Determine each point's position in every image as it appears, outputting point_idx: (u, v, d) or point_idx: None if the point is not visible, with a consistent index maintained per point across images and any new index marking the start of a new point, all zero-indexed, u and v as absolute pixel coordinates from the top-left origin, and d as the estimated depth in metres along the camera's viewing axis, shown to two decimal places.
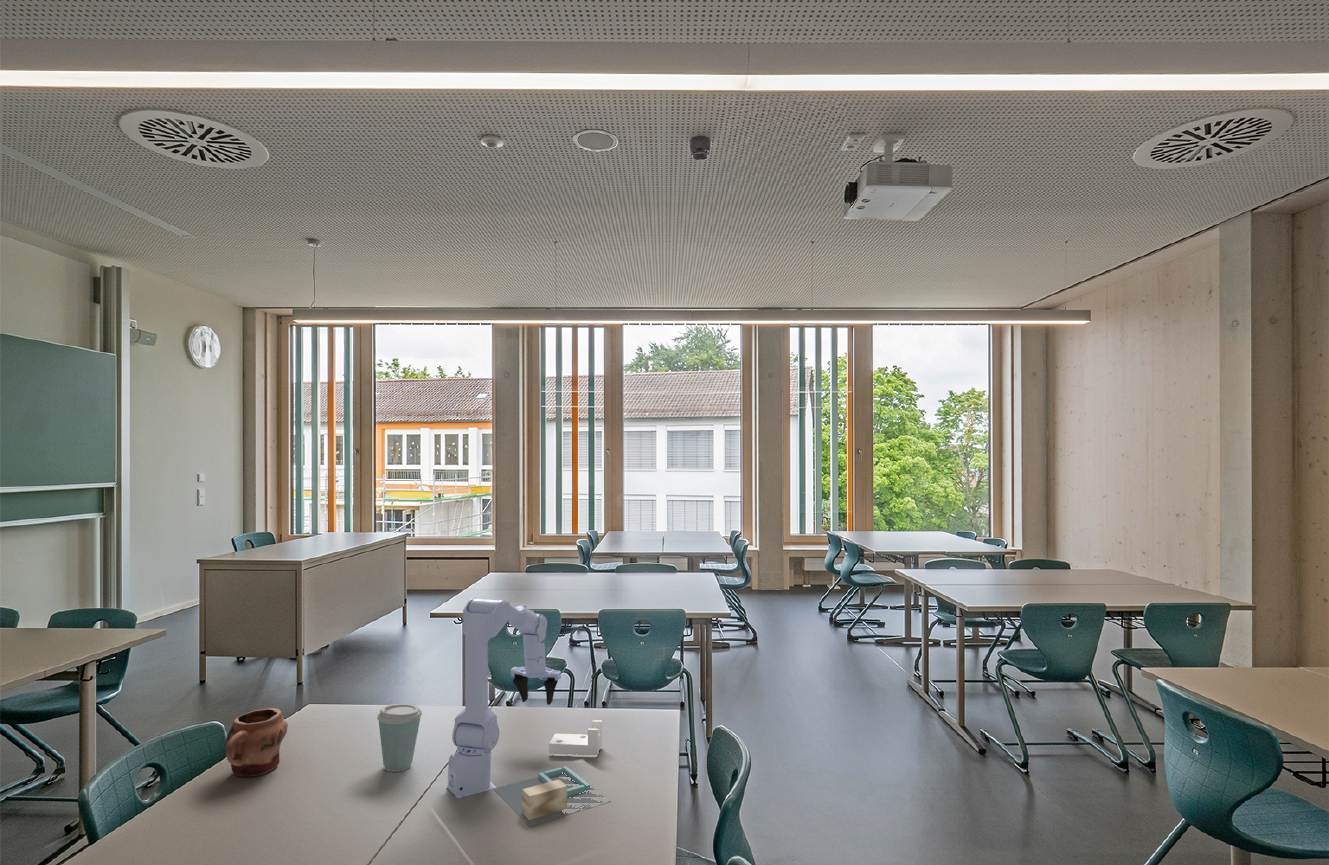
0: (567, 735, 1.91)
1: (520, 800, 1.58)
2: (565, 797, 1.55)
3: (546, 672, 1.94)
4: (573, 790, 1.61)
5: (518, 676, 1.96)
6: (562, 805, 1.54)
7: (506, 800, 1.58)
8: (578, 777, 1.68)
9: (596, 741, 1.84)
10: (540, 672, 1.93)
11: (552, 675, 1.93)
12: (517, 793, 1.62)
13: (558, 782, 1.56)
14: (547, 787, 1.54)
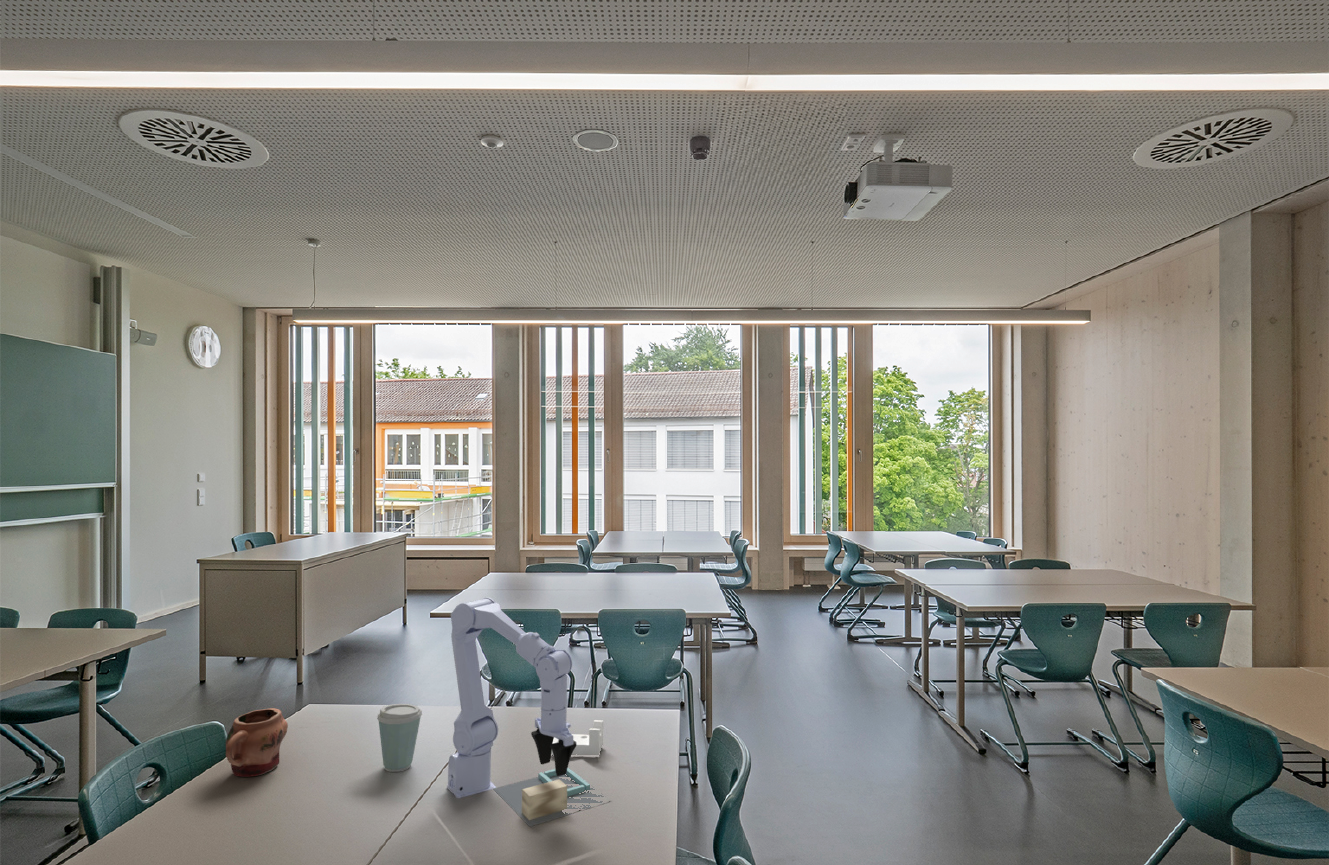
0: None
1: (520, 800, 1.58)
2: (565, 797, 1.55)
3: (560, 732, 1.54)
4: (573, 790, 1.61)
5: None
6: (562, 805, 1.54)
7: (506, 800, 1.58)
8: (578, 777, 1.68)
9: (597, 741, 1.84)
10: (551, 729, 1.54)
11: (561, 737, 1.51)
12: (517, 793, 1.62)
13: (558, 782, 1.56)
14: (547, 787, 1.54)
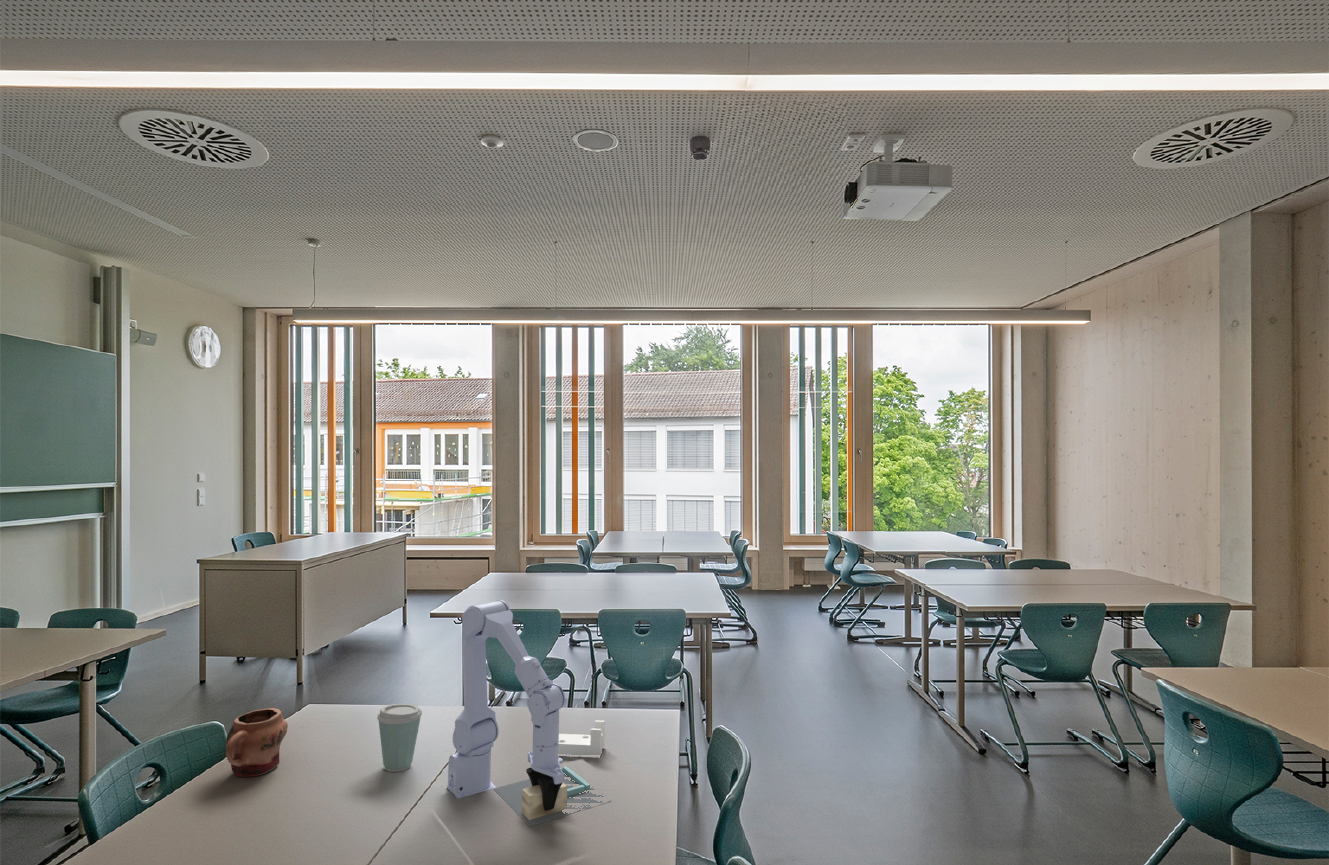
0: (570, 735, 1.90)
1: (520, 800, 1.58)
2: (565, 797, 1.55)
3: (551, 769, 1.51)
4: (573, 790, 1.61)
5: None
6: (562, 805, 1.54)
7: (506, 800, 1.58)
8: (578, 777, 1.68)
9: (599, 741, 1.84)
10: (542, 766, 1.51)
11: (551, 775, 1.49)
12: (517, 793, 1.62)
13: None
14: None
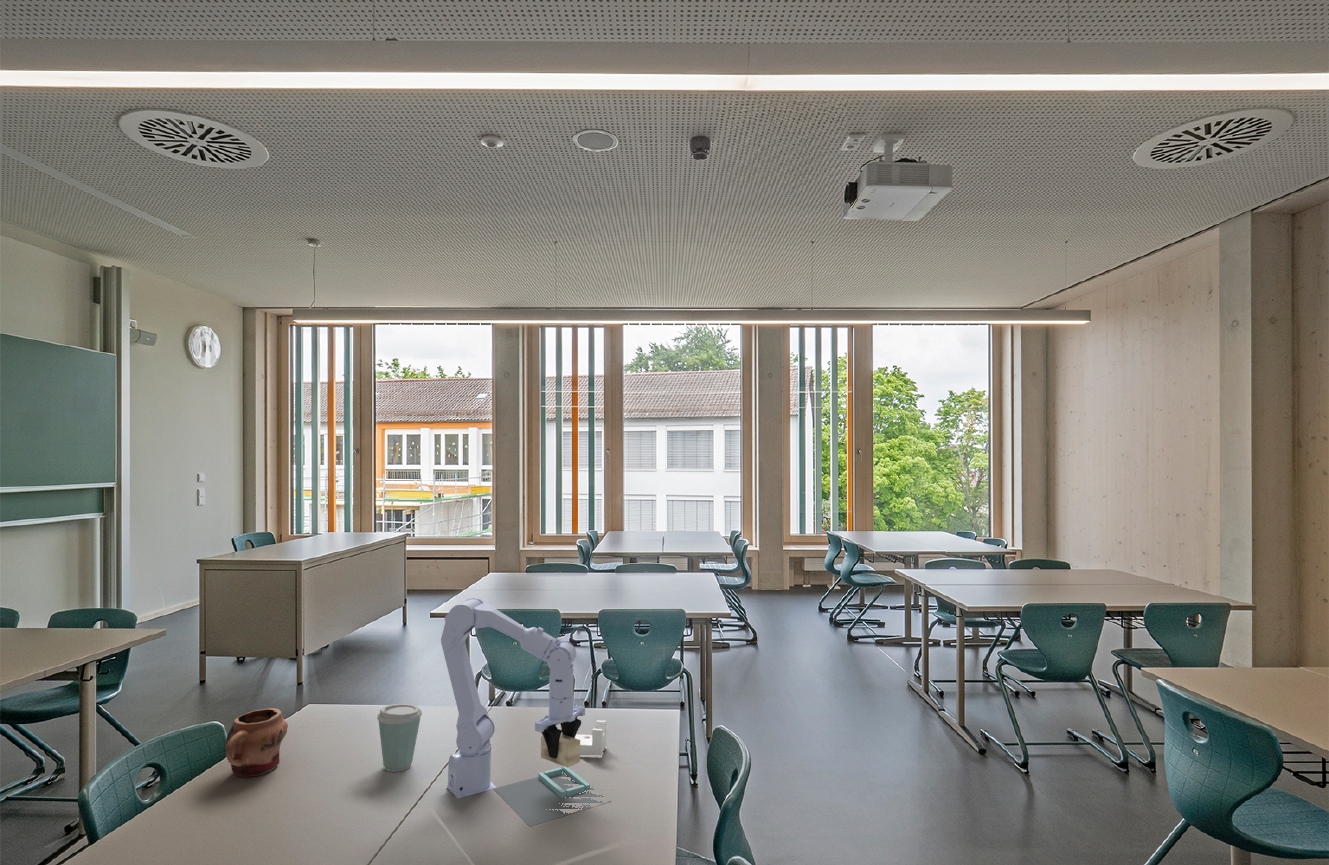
0: None
1: (520, 800, 1.58)
2: (566, 755, 1.60)
3: None
4: (573, 790, 1.61)
5: None
6: (564, 761, 1.61)
7: (506, 800, 1.58)
8: (578, 777, 1.68)
9: (600, 741, 1.84)
10: (548, 714, 1.64)
11: None
12: (517, 793, 1.62)
13: (572, 741, 1.63)
14: (560, 738, 1.64)
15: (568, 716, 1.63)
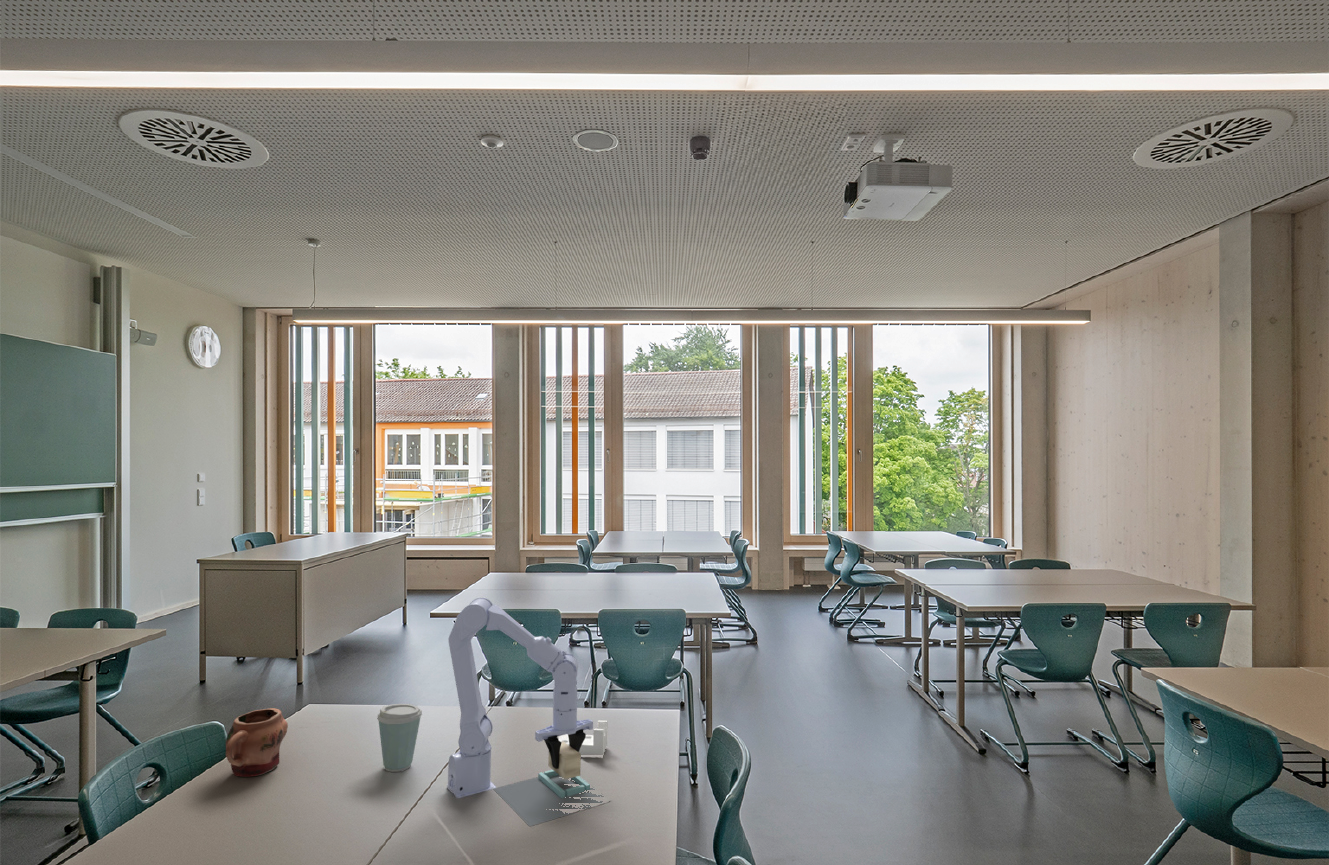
0: None
1: (520, 800, 1.58)
2: (564, 767, 1.63)
3: None
4: (573, 790, 1.61)
5: None
6: (563, 773, 1.63)
7: (506, 800, 1.58)
8: (578, 777, 1.68)
9: (602, 741, 1.84)
10: (553, 724, 1.68)
11: None
12: (517, 793, 1.62)
13: (572, 753, 1.65)
14: (563, 750, 1.67)
15: (569, 729, 1.65)
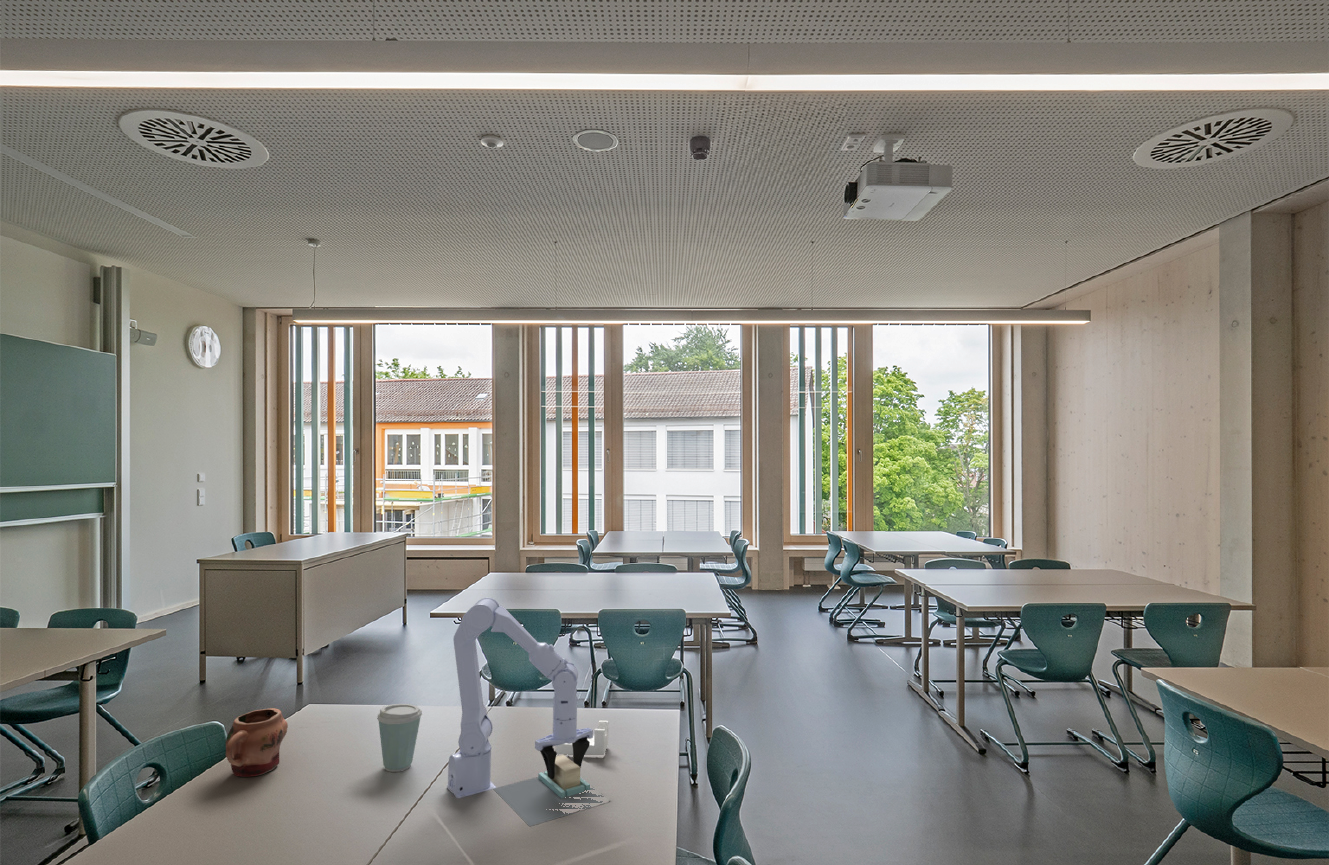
0: None
1: (520, 800, 1.58)
2: (564, 781, 1.63)
3: None
4: (573, 790, 1.61)
5: None
6: (562, 787, 1.63)
7: (506, 800, 1.58)
8: None
9: (603, 741, 1.84)
10: None
11: None
12: (517, 793, 1.62)
13: (572, 767, 1.64)
14: (563, 763, 1.67)
15: (568, 738, 1.65)
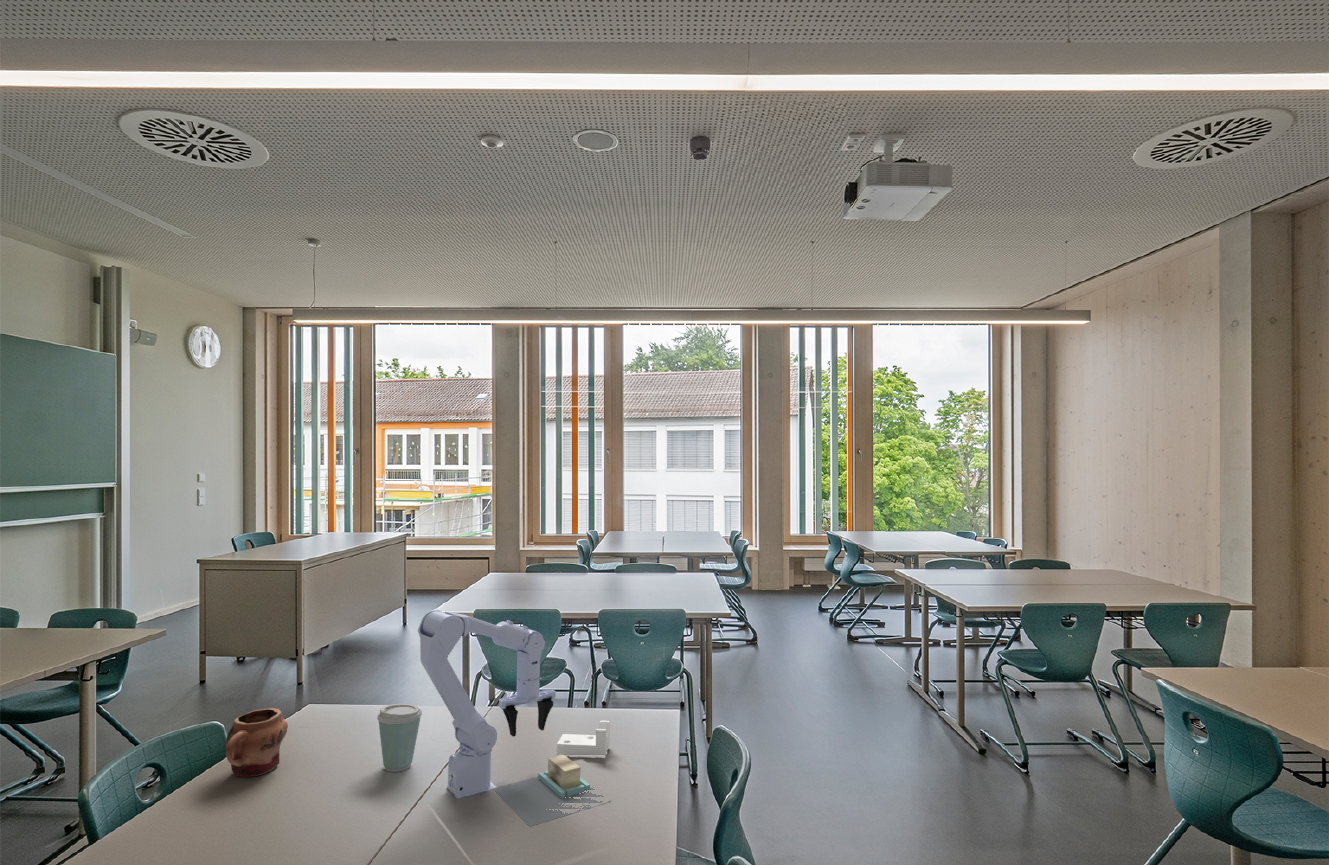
0: (575, 735, 1.90)
1: (520, 800, 1.58)
2: (564, 781, 1.63)
3: None
4: (573, 790, 1.61)
5: None
6: (562, 787, 1.63)
7: (506, 800, 1.58)
8: None
9: (604, 741, 1.84)
10: None
11: None
12: (517, 793, 1.62)
13: (572, 767, 1.64)
14: (563, 763, 1.67)
15: (531, 697, 1.74)
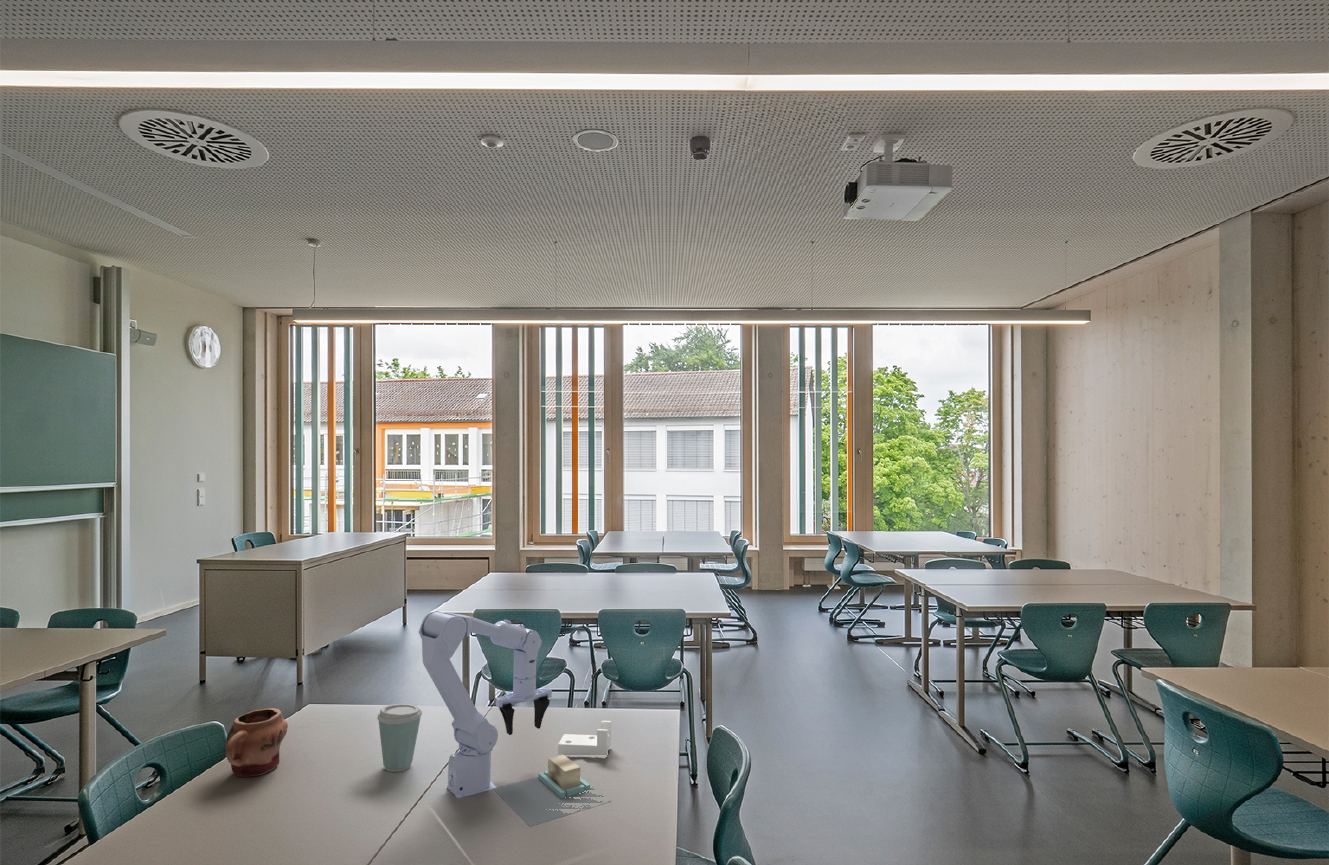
0: (576, 735, 1.90)
1: (520, 800, 1.58)
2: (564, 781, 1.63)
3: None
4: (573, 790, 1.61)
5: None
6: (562, 787, 1.63)
7: (506, 800, 1.58)
8: None
9: (605, 742, 1.84)
10: None
11: None
12: (517, 793, 1.62)
13: (572, 767, 1.64)
14: (563, 763, 1.67)
15: (527, 696, 1.75)
